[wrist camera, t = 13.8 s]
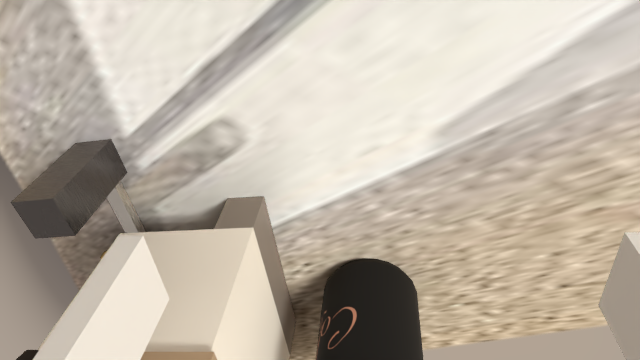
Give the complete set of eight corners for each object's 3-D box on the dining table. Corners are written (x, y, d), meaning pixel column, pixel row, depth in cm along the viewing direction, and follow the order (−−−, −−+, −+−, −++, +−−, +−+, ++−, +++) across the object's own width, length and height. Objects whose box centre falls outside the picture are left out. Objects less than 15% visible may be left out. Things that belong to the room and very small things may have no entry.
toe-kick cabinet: (130, 200, 50) (9, 363, 33) (267, 192, 47) (209, 364, 31) (187, 324, 61) (119, 491, 45) (300, 324, 59) (271, 500, 42)
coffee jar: (348, 241, 50) (336, 397, 35) (433, 274, 51) (456, 438, 37) (311, 299, 56) (288, 453, 41) (389, 327, 57) (394, 486, 43)
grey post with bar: (75, 143, 46) (10, 202, 38) (111, 139, 45) (52, 198, 37) (149, 281, 57) (111, 350, 49) (179, 279, 56) (145, 349, 48)
